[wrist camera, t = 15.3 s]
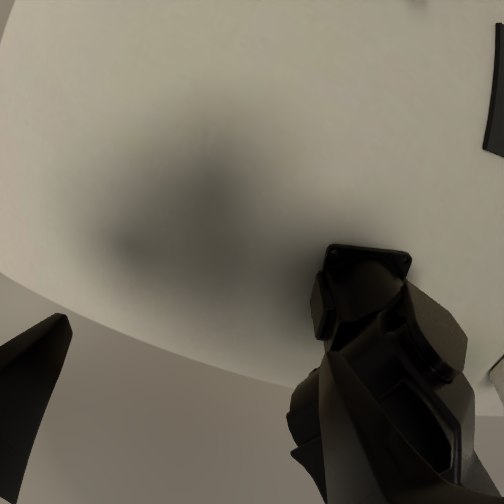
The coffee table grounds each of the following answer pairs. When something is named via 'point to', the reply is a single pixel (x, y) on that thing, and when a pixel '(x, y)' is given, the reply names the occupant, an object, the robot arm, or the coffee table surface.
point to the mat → (497, 100)
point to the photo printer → (498, 379)
